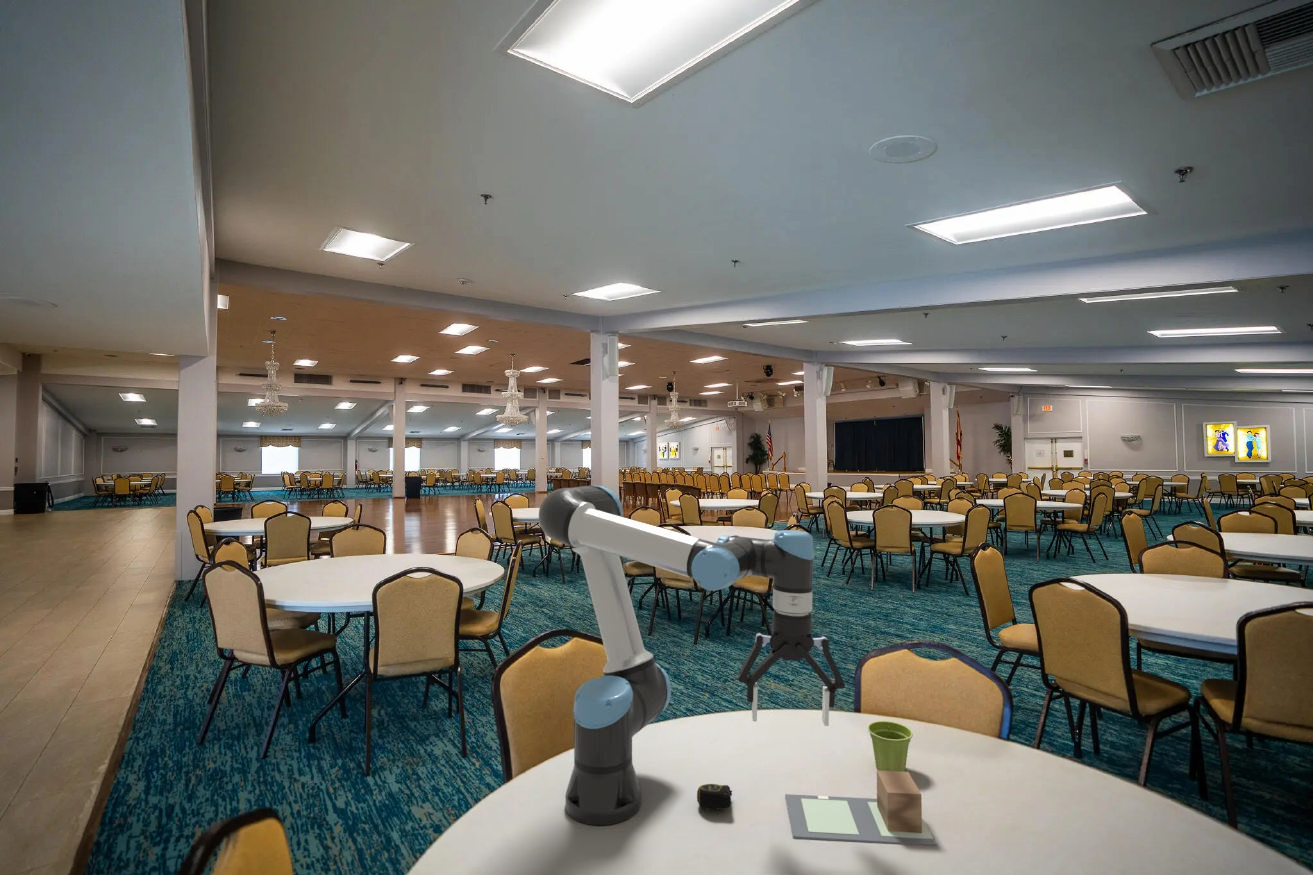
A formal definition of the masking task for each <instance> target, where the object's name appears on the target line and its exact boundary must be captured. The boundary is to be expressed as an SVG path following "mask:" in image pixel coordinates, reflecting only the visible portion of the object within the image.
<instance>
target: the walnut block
mask: <svg viewBox="0 0 1313 875" xmlns="http://www.w3.org/2000/svg"><path fill="white" fill-rule="evenodd" d="M876 799H877V807H878V810H879V812H880V814H881V816H882V819H883V821H884V823H885V825H886V828H887V830H888V831H894V832H911V833H922V819H923V815H922V814H923V810H922V793H921V791H920V789H919V787H918V786H917V784H916V783H915V781H914V779H913V778H912V775H911V774H910V772H909V771H905V772H900V771H879V770H878V769H877V770H876Z"/></svg>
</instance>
